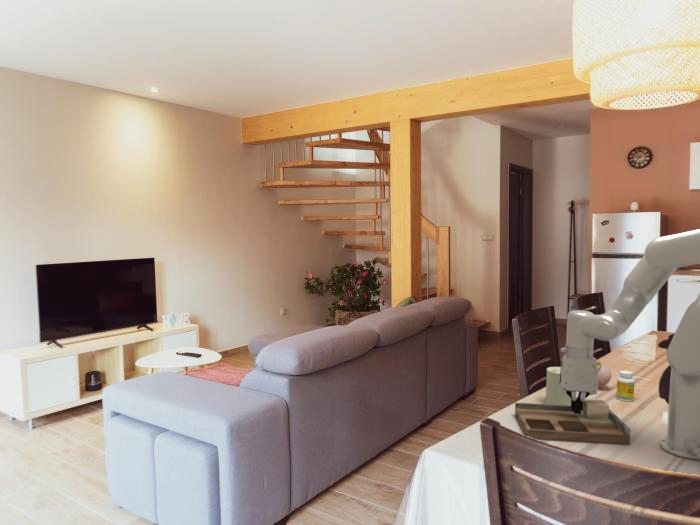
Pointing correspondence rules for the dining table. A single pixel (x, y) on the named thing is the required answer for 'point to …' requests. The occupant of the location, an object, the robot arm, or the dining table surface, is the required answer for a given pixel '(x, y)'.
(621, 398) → the supplement bottle
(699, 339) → the robot arm
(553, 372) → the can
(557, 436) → the brown wooden tray
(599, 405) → the block
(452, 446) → the dining table surface
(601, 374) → the decorative fruit
